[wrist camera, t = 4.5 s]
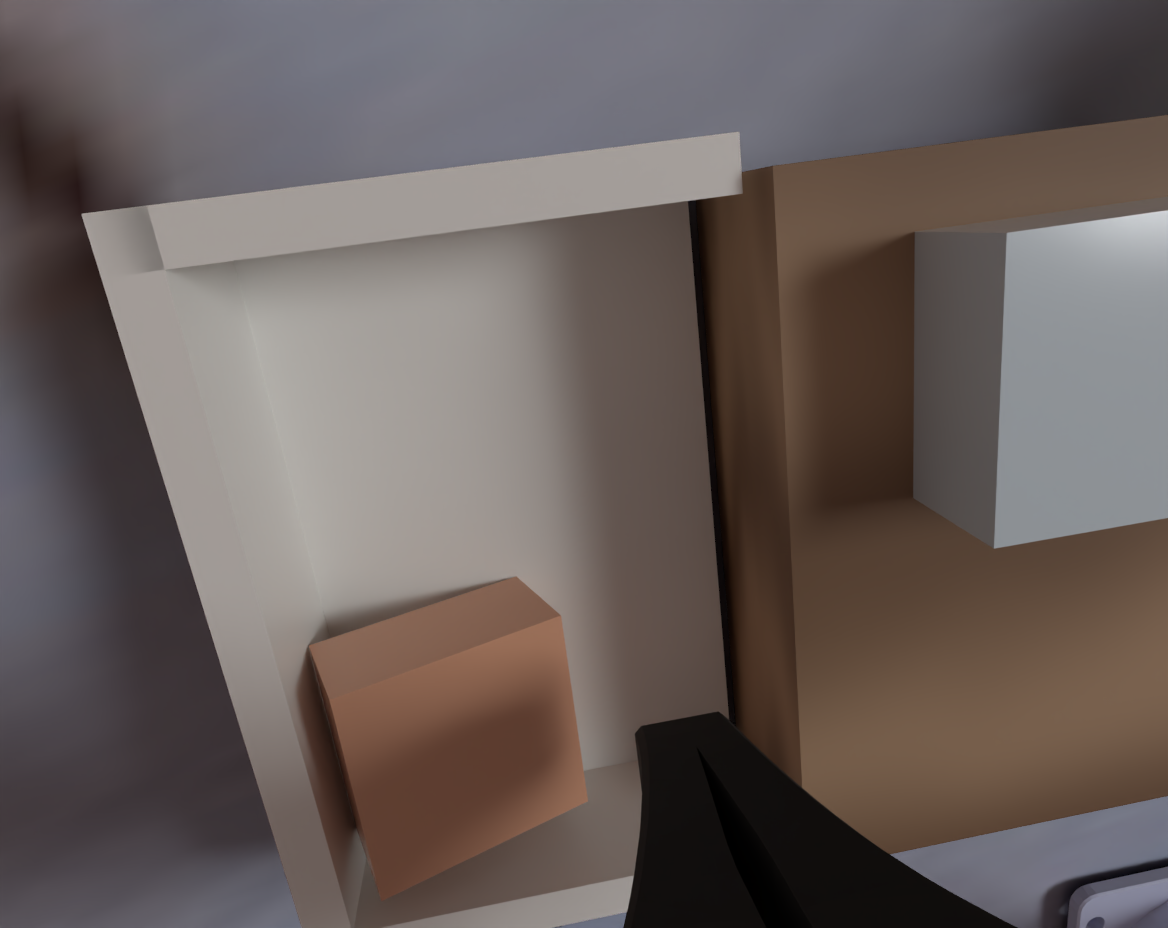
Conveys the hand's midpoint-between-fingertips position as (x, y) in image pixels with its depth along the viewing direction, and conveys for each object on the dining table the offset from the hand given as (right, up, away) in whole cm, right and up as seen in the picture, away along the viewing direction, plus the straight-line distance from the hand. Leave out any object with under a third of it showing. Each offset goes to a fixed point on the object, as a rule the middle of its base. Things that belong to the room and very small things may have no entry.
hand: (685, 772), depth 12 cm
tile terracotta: (-3, 0, +1) cm, 4 cm away
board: (+5, +5, +4) cm, 8 cm away
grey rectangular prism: (+5, +6, 0) cm, 8 cm away
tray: (-3, +4, +4) cm, 6 cm away
